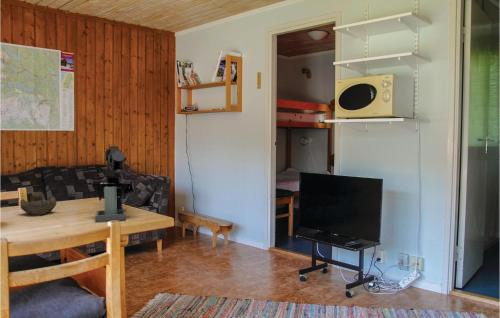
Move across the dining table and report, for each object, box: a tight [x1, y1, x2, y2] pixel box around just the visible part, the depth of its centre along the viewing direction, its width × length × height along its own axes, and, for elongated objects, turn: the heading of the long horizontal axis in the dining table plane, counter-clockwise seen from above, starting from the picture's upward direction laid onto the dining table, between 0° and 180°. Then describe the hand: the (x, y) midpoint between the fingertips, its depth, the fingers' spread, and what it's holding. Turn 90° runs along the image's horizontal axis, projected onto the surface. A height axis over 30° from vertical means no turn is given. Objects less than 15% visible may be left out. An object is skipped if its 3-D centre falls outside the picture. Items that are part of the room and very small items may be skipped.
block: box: [103, 186, 118, 215], centre depth 199 cm, size 4×4×14 cm
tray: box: [94, 209, 126, 223], centre depth 200 cm, size 13×13×3 cm
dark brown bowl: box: [19, 191, 57, 216], centre depth 212 cm, size 16×11×15 cm
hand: (109, 200), depth 198 cm, fingers open, 9 cm apart
